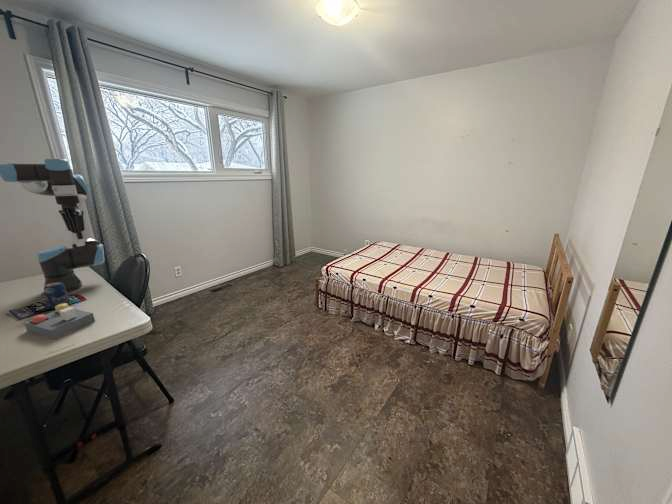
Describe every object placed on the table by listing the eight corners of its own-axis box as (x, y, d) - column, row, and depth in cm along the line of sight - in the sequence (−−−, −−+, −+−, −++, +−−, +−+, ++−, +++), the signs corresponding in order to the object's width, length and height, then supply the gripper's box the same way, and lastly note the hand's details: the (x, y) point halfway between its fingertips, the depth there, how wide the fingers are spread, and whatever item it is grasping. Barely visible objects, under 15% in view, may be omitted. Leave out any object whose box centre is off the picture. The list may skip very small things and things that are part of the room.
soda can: (58, 310, 127) (50, 287, 123) (46, 309, 128) (38, 286, 125) (74, 303, 133) (67, 281, 130) (63, 302, 134) (56, 280, 131)
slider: (61, 319, 111) (58, 310, 110) (72, 315, 114) (69, 306, 113) (66, 320, 110) (63, 312, 109) (77, 316, 113) (74, 307, 112)
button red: (30, 324, 110) (28, 318, 109) (43, 319, 113) (41, 313, 113) (37, 326, 109) (34, 319, 108) (49, 321, 112) (47, 315, 111)
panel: (27, 331, 110) (23, 322, 109) (68, 314, 123) (65, 306, 122) (54, 339, 105) (51, 330, 104) (95, 321, 118) (92, 312, 117)
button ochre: (54, 312, 117) (52, 306, 116) (65, 308, 120) (63, 302, 120) (60, 314, 116) (58, 308, 115) (71, 309, 119) (69, 303, 118)
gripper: (46, 195, 119) (62, 246, 126) (65, 196, 115) (80, 248, 122) (67, 194, 126) (81, 242, 132) (85, 194, 122) (99, 244, 128)
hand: (80, 245), depth 127 cm, fingers closed
